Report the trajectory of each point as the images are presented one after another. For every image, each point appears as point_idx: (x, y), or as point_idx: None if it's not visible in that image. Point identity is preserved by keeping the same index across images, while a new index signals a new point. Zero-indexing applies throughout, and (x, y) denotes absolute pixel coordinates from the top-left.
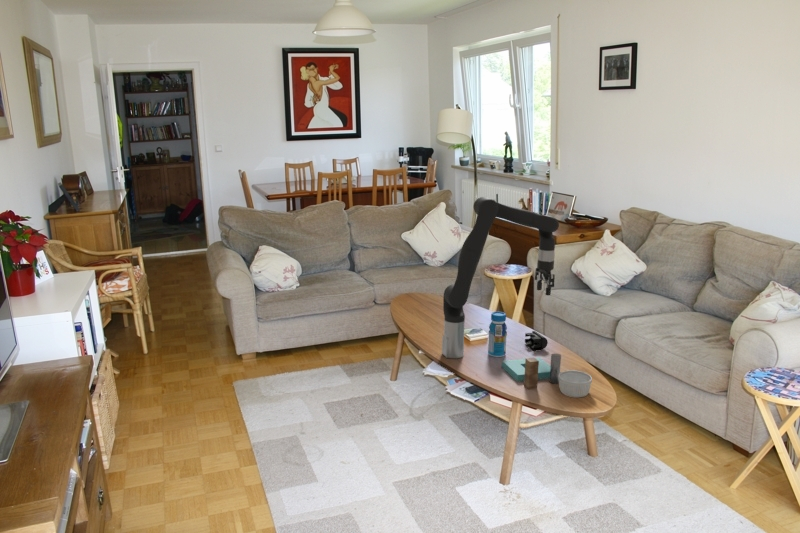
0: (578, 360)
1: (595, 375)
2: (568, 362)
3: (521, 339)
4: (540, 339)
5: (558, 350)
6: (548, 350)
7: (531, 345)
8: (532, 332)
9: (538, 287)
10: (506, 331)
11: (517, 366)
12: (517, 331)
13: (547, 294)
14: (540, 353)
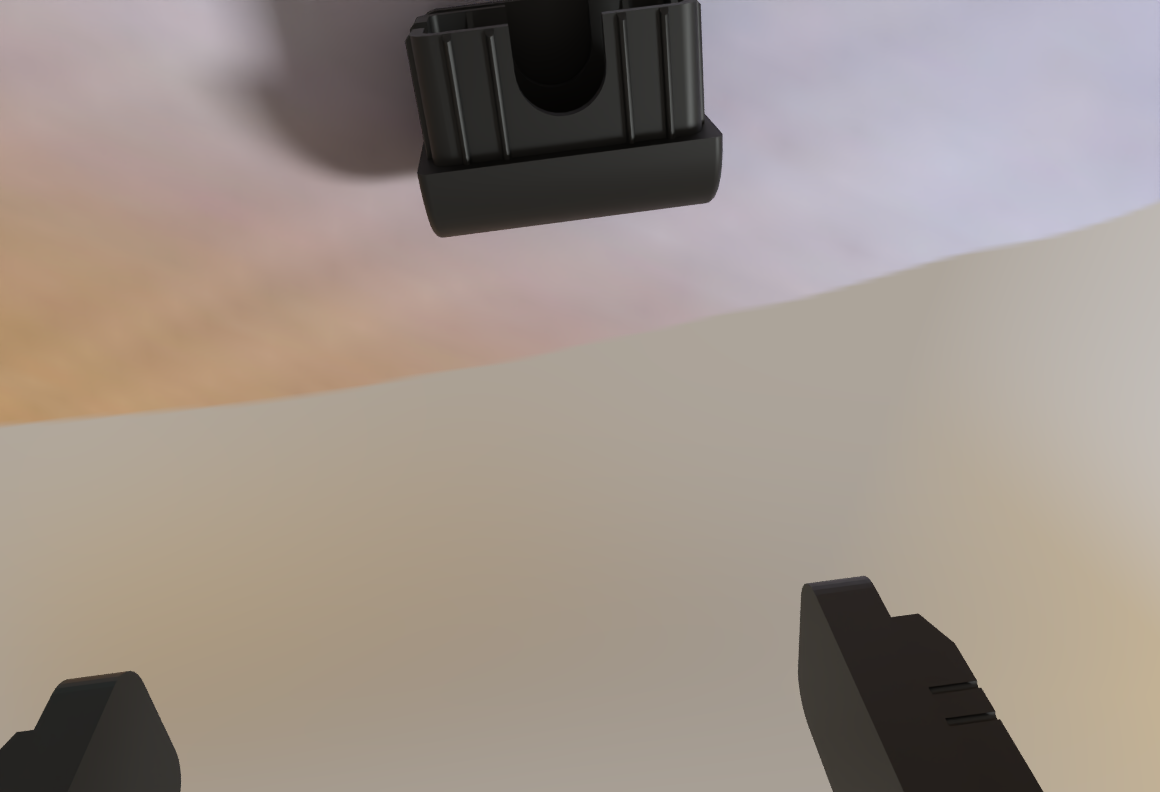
0: (117, 410)
1: None
2: (46, 293)
3: (852, 11)
4: (431, 142)
5: (419, 318)
6: None
7: (587, 51)
8: (712, 129)
9: (841, 688)
10: None
11: None
12: (1125, 69)
13: (18, 732)
14: (336, 74)
